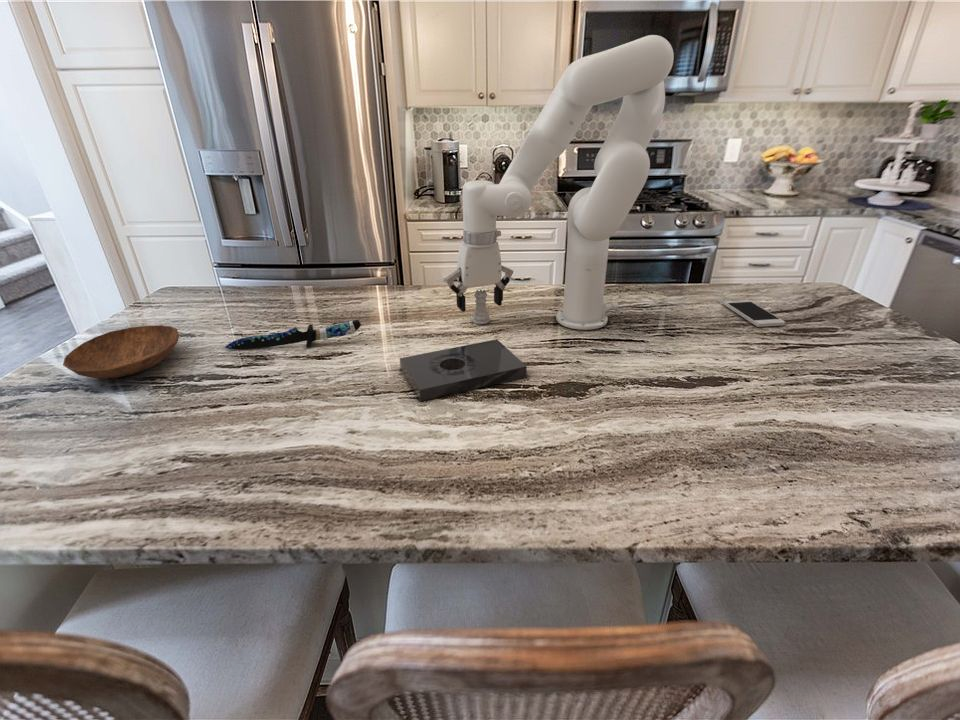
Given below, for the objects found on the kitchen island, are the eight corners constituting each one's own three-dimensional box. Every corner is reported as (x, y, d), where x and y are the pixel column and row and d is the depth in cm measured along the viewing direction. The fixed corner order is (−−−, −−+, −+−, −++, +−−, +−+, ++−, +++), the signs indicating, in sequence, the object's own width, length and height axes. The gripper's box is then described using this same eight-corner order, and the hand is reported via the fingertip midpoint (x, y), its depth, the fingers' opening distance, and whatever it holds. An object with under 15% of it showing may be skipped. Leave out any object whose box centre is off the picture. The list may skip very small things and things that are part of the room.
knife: (364, 335, 115) (359, 317, 113) (362, 340, 112) (357, 322, 110) (234, 352, 115) (227, 335, 113) (229, 358, 113) (221, 340, 111)
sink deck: (497, 349, 110) (497, 339, 109) (526, 377, 99) (526, 366, 98) (400, 368, 103) (399, 358, 102) (420, 401, 91) (419, 390, 90)
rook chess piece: (488, 325, 122) (488, 294, 119) (470, 324, 123) (469, 293, 119) (491, 318, 126) (491, 288, 122) (474, 317, 127) (473, 287, 123)
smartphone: (757, 327, 119) (758, 323, 118) (722, 304, 132) (723, 300, 132) (785, 325, 119) (786, 321, 119) (747, 302, 133) (748, 299, 133)
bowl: (198, 341, 117) (192, 321, 115) (161, 387, 98) (153, 365, 95) (106, 348, 114) (98, 328, 112) (50, 397, 95) (39, 374, 92)
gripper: (506, 230, 121) (505, 297, 129) (438, 237, 115) (442, 307, 123) (520, 237, 115) (518, 306, 123) (450, 245, 109) (452, 317, 117)
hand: (480, 306), depth 123 cm, fingers open, 9 cm apart
